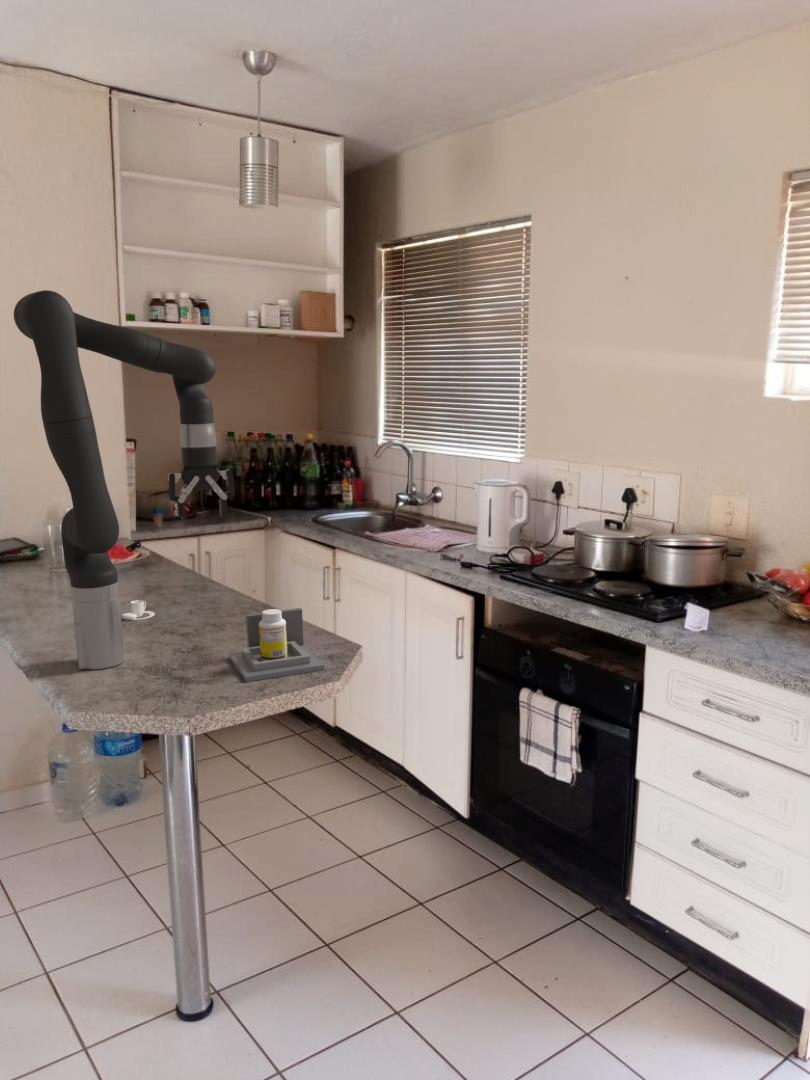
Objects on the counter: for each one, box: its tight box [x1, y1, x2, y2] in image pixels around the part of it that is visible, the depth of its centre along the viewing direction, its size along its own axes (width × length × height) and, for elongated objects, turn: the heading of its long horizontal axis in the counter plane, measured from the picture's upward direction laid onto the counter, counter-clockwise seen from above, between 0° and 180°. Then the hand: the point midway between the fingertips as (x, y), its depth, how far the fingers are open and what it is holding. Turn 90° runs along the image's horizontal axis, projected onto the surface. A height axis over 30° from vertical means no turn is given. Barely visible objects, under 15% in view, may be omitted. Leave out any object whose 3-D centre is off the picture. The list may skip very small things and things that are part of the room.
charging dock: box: [228, 607, 325, 683], centre depth 174 cm, size 16×16×9 cm
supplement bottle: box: [259, 608, 288, 661], centre depth 173 cm, size 6×6×10 cm
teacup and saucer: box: [121, 599, 155, 621], centre depth 212 cm, size 9×8×4 cm
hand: (203, 517), depth 187 cm, fingers open, 8 cm apart
